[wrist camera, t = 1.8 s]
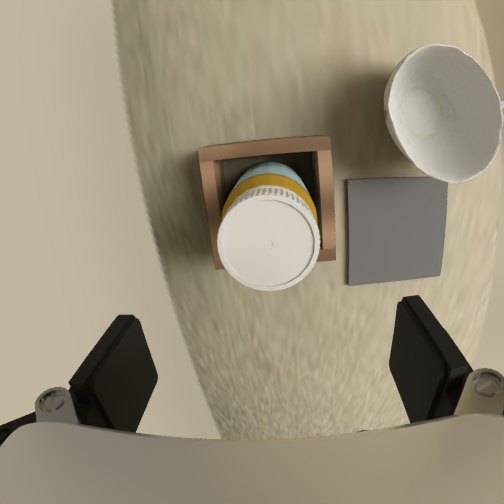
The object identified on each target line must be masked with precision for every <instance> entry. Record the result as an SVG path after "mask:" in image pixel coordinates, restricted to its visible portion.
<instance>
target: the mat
mask: <svg viewBox="0 0 504 504" xmlns="http://www.w3.org/2000/svg"><path fill="white" fill-rule="evenodd" d="M447 188H448V182H444V181H440V180H437V179H434V178H432V177H391V178H364V179H347V202H348V285H349V286H352V285H363V284H372V283H382V282H391V281H400V280H409V279H418V278H426V277H434V276H440V273H441V266H442V257H443V248H444V238H445V227H446V212H447Z"/></svg>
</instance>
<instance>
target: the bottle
mask: <svg viewBox="0 0 504 504" xmlns="http://www.w3.org/2000/svg"><path fill="white" fill-rule="evenodd" d="M317 223H318V221H317V212H316V208H315V205H314V203H313V200H312V198H311V196H310V194H309V193H308V191H307V189H306V187H305V185H304V183H303V182H302V180H301V178H300V177H299V175H298V174H297V173H296V172H295V171H294V170H293V169H292V168H290V167H288V166H286V165H285V164H282V163H279V162H273V161H268V162H261V163H258V164H256V165H254V166H252V167H250V168H249V169H248V170H247V171H246V172H245V173H244V174H243V175H242V176H241V177H240V179H239V180H238V182H237V183H236V185H235V187H234V188H233V190H232V191H231V193H230V194H229V196H228V198H227V200H226V202H225V204H224V207H223V211H222V219H221V223H220V227H219V229H218V231H219V232H218V234H217V237H218V239H217V247H218V252H219V256H220V259H221V261H222V263H223V265H224V267H225V269H226V270H227V271H228V272H229V274H230V275H231V276H232V277H233V278H234V279H236V280H237V281H238V282H240V283H242V284H243V285H245V286H247V287H250V288H253V289H257V290H262V291H276V290H281V289H285V288H288V287H290V286H293V285H294V284H296V283H298V282H299V281H301V280H302V279H303V278H304V277H305V276H306V275H307V274H308V273H309V272H310V271H311V269H312V268H313V266H314V264H315V262H316V260H317V258H318V254H319V249H320V235H319V229H318V226H317Z"/></svg>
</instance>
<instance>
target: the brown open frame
mask: <svg viewBox="0 0 504 504" xmlns="http://www.w3.org/2000/svg"><path fill="white" fill-rule="evenodd" d="M306 151H311V157H312V169H313V183H314V198H315V208H316V212H317V221H318V223H317V226H318V229H319V235H320V249H319V254H318V258H317V260H316V262H320V261H332V260H336V238H335V207H334V186H333V169H332V154H331V141H330V136H324V135H315V136H299V137H285V138H273V139H262V140H252V141H243V142H235V143H226V144H219V145H211V146H206V147H203V148H199V149H198V156H199V163H200V171H201V178H202V185H203V192H204V198H205V205H206V212H207V218H208V225H209V231H210V238H211V244H212V250H213V256H214V262H215V268H216V270H217V269H225V267H224V265H223V263H222V261H221V259H220V256H219V252H218V247H217V239H218V237H217V234H218V232H219V231H218V229H219V227H220V223H221V219H222V211H223V207H224V204H225V202H226V200H227V194H226V187H225V179H224V171H223V163H222V159H230V158H238V157H248V156H257V155H268V154H279V153H292V152H306Z"/></svg>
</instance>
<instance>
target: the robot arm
mask: <svg viewBox="0 0 504 504" xmlns="http://www.w3.org/2000/svg"><path fill="white" fill-rule="evenodd" d="M389 367H390V371H391V373H392V376H393V378H394V381H395V383H396V386H397V388H398V391H399V394H400V396H401V399H402V402H403V404H404V407H405V410H406V412H407V415H408V418H409V420H410V424H405V425H400V426H394V427H388V428H382V429H376V430H369V431H363V432H356V433H348V434H340V435H331V436H320V437H308V438H293V439H271V440H220V439H219V440H218V439H217V440H216V439H197V438H182V437H170V436H159V435H150V434H141V433H136V430H137V428H138V425H139V423H140V420H141V418H142V416H143V414H144V411H145V409H146V407H147V404H148V402H149V399H150V397H151V395H152V392H153V390H154V388H155V385H156V383H157V380H158V374H157V371H156V368H155V365H154V362H153V360H152V357H151V354H150V351H149V348H148V345H147V342H146V339H145V336H144V333H143V330H142V326H141V323H140V321H139V319H137V318H135V316H134V315H118V316H117V317H116V319H115V320H114V321H113V322H112V324H111V325H110V326H109V328H108V329H107V330H106V332H105V333H104V334H103V336H102V337H101V338H100V340H99V341H98V342H97V344H96V345H95V346H94V348H93V349H92V351H91V352H90V353H89V355H88V356H87V357H86V359H85V360H84V361H83V363H82V364H81V366H80V367H79V368H78V370H77V371H76V373H75V374H74V375H73V377H72V378H71V380H70V381H69V384H70V386H71V387H70V389H69V390H67V389H65V388H62V387H54V388H50V389H48V390H46V391H44V392H43V393H42V394H41V395H40V396H39V397H38V398H37V400H36V402H35V412H33V413H31V414H28V415H26V416H23V417H21V418H18V419H16V420H13V421H11V422H8V423H6V424H3V425H1V426H0V504H504V377H503V375H502V374H500V373H499V372H497V371H495V370H492V369H487V368H482V369H477V370H474V371H473V369H472V368H471V366H470V365H469V363H468V362H467V360H466V359H465V357H464V356H463V354H462V353H461V351H460V350H459V349H458V347H457V346H456V344H455V343H454V341H453V340H452V338H451V337H450V336H449V334H448V333H447V331H446V330H445V329H444V328H443V327H442V326H441V324H440V323H439V322H438V320H437V319H436V318H435V316H434V315H433V313H432V312H431V311H430V309H429V308H428V307H427V305H426V304H425V303H424V301H423V300H422V299H421V297H420V296H419V295H415V296H407V297H403V299H402V301H400V302H398V304H397V311H396V319H395V327H394V334H393V341H392V347H391V353H390V359H389Z"/></svg>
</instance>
